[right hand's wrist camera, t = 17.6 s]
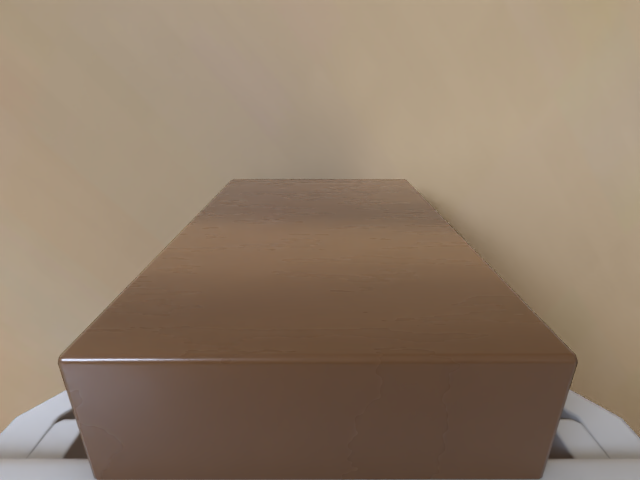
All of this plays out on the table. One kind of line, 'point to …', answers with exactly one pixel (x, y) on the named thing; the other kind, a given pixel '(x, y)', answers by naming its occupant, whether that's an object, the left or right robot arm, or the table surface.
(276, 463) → the box
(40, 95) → the table surface
